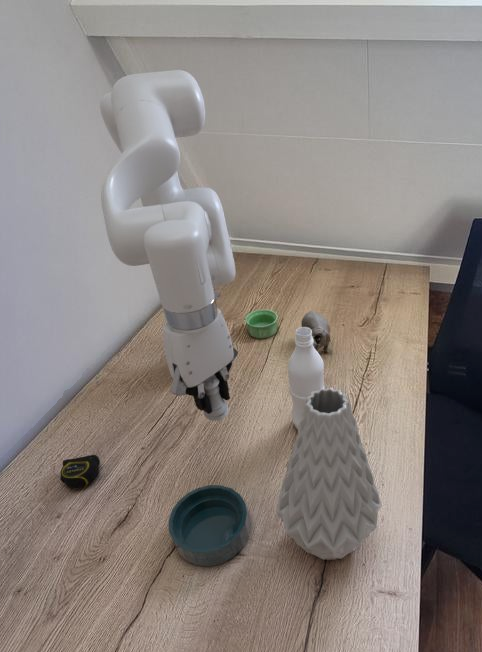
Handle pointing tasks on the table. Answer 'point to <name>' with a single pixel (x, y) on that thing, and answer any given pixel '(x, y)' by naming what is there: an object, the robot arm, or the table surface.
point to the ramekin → (262, 323)
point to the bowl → (209, 525)
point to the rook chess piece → (215, 400)
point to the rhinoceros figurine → (317, 329)
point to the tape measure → (80, 471)
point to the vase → (328, 480)
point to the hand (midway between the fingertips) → (213, 402)
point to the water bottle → (304, 372)
